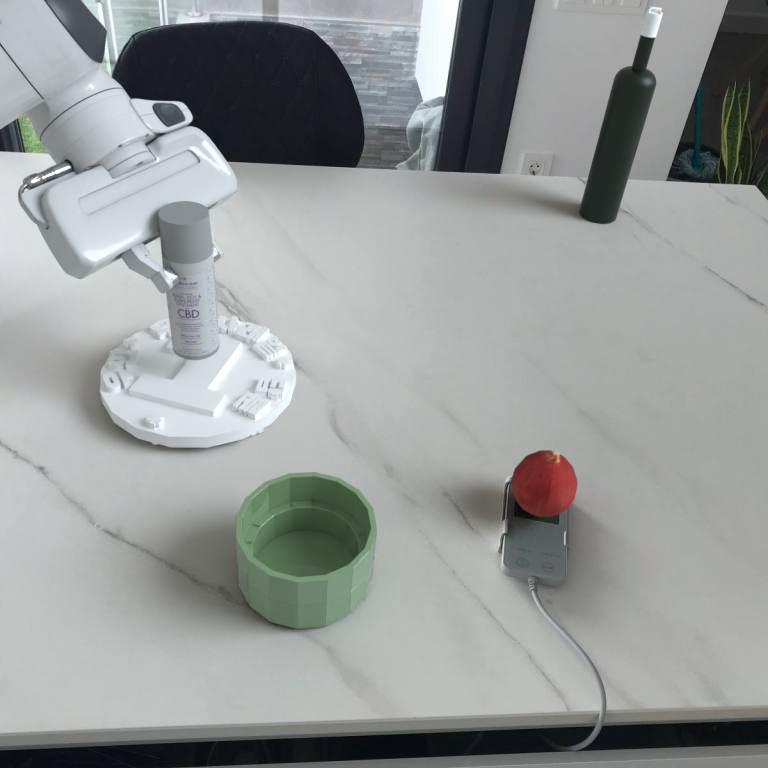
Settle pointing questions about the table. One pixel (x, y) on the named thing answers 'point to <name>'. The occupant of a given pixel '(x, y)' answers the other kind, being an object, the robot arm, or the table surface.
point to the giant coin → (198, 386)
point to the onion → (544, 483)
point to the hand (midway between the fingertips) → (194, 274)
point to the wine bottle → (621, 129)
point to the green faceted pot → (305, 549)
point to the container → (190, 279)
